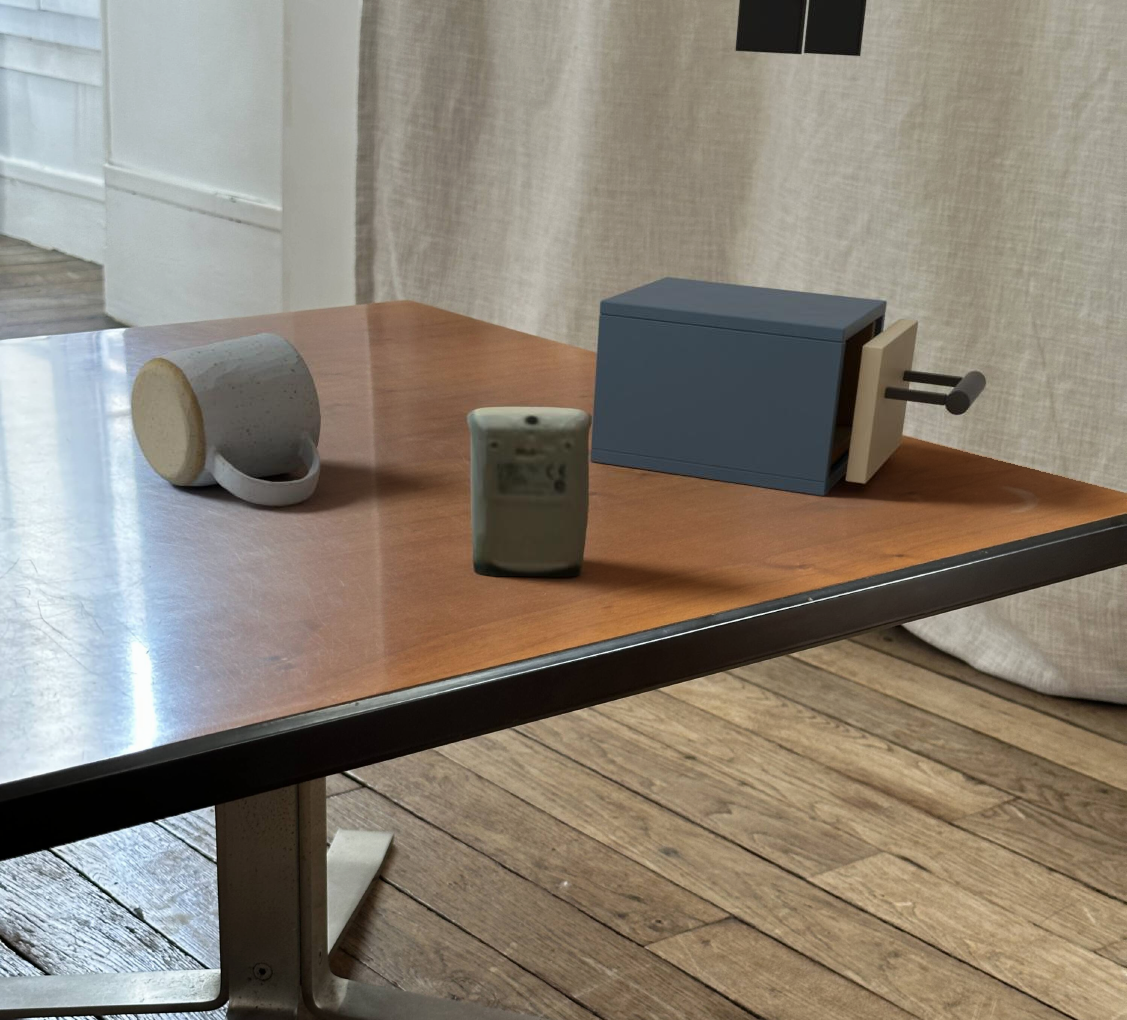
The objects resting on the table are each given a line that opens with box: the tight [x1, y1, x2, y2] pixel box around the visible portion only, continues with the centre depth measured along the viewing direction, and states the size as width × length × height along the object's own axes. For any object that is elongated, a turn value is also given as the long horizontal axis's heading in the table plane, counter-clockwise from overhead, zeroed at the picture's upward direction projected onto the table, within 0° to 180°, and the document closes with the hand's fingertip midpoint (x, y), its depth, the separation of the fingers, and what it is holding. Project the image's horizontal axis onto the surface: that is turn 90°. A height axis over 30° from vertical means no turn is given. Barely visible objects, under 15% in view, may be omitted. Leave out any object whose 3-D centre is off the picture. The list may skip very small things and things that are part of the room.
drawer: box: [830, 318, 987, 485], centre depth 97 cm, size 18×11×8 cm, turn 69°
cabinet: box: [589, 276, 888, 497], centre depth 99 cm, size 15×13×10 cm
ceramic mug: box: [130, 332, 322, 507], centre depth 87 cm, size 11×8×8 cm
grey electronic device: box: [466, 406, 593, 578], centre depth 75 cm, size 6×5×8 cm
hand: (802, 54), depth 74 cm, fingers open, 13 cm apart
